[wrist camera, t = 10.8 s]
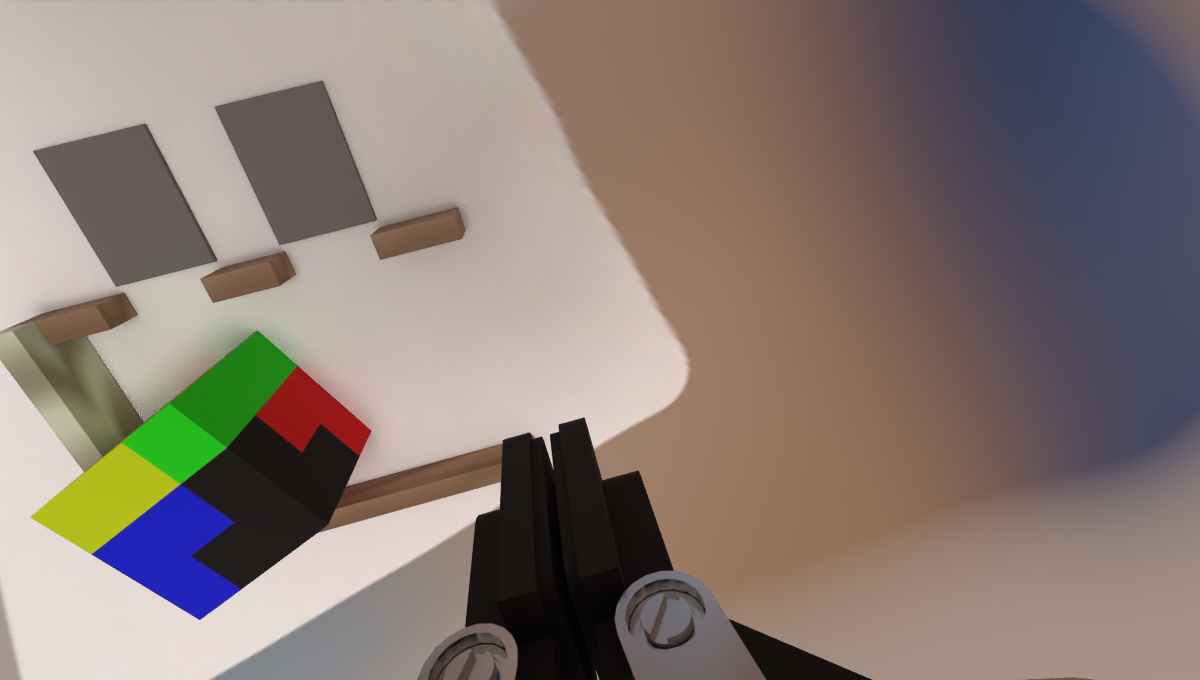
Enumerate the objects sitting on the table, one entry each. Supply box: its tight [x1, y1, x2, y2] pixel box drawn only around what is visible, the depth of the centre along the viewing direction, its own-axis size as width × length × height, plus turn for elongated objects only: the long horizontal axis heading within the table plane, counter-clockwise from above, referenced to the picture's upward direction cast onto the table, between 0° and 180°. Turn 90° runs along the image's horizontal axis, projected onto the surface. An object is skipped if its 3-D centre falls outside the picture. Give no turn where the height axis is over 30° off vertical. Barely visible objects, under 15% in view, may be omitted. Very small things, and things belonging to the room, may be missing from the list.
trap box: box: [0, 208, 534, 533], centre depth 36 cm, size 19×26×4 cm
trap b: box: [215, 81, 377, 245], centre depth 33 cm, size 8×6×1 cm
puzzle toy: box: [31, 331, 371, 620], centre depth 34 cm, size 10×10×10 cm
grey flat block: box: [33, 124, 217, 287], centre depth 32 cm, size 8×6×1 cm
